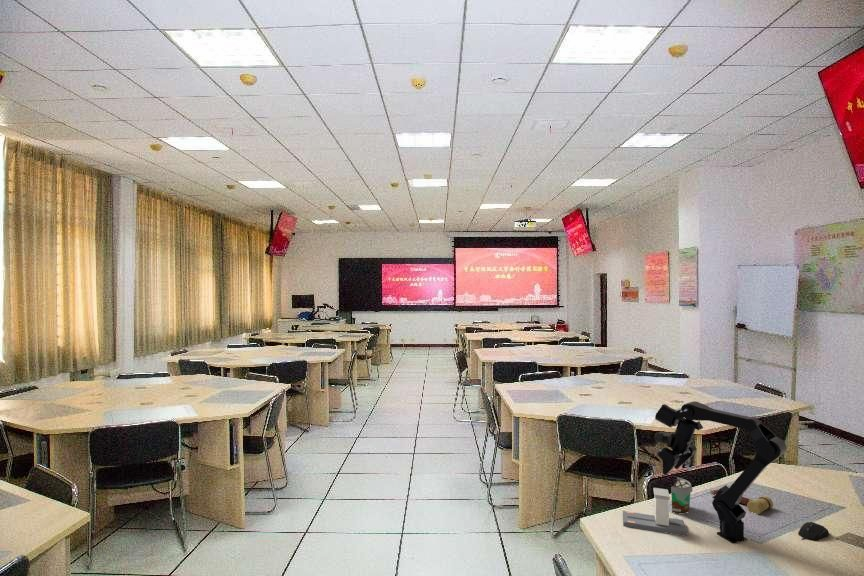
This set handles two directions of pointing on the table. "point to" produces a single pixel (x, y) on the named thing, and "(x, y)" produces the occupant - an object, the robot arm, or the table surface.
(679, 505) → the food container
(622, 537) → the table surface
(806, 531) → the gaming mouse
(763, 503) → the gavel
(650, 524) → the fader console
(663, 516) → the fader knob
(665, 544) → the table surface
